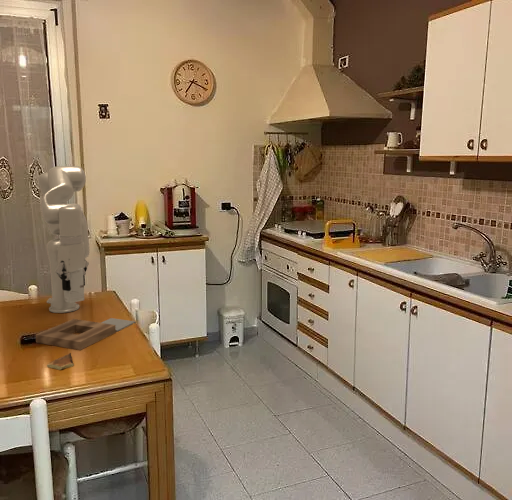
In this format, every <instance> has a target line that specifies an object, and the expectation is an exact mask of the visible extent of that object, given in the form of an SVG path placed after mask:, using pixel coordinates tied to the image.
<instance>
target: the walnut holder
mask: <svg viewBox="0 0 512 500" xmlns="http://www.w3.org/2000/svg"><path fill="white" fill-rule="evenodd" d="M75 333H79V334H75ZM116 333H117V332H116V328H115V325H112V324H105V323H101V322H98V321H96V322H95V321H90V320H85V319H84V320H82V319H76V318H73V319H70V320H67V321H65V322H63V323H60V324H57V325H55V326H53V327H51V328H48V329H45V330H43V331H41V332H38V333H36V334H35V342H36V343H37V344H42V345H43V344H44V345H49V346H55V347H60V348H66V349H71V350H72V349H73V350H77V351H81V350H84V349H85V348H88V347H90V346H92V345H94V344H95V343H97V342H100V341H101V340H102V341H103V339H106V338H108V337H109V336H111V335H114V334H116Z"/></svg>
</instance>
